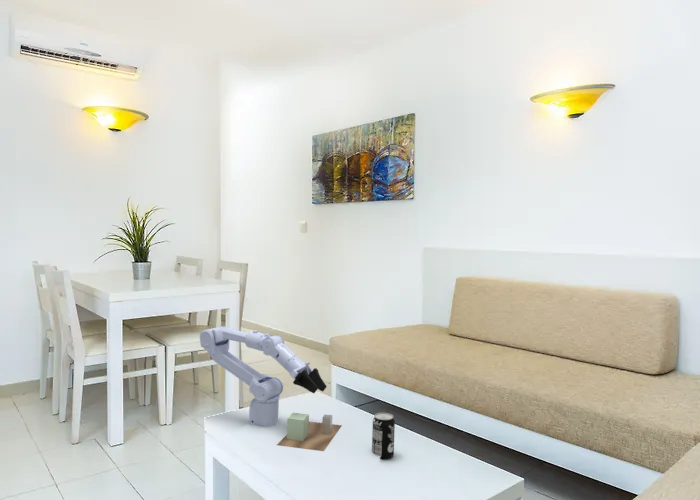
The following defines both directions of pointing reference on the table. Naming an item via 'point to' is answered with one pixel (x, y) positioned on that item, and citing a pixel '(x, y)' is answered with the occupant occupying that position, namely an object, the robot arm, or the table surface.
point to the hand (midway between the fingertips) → (320, 389)
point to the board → (312, 438)
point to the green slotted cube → (297, 426)
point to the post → (327, 424)
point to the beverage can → (383, 435)
